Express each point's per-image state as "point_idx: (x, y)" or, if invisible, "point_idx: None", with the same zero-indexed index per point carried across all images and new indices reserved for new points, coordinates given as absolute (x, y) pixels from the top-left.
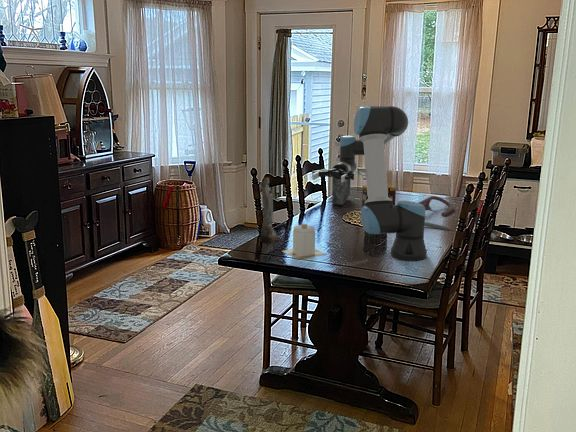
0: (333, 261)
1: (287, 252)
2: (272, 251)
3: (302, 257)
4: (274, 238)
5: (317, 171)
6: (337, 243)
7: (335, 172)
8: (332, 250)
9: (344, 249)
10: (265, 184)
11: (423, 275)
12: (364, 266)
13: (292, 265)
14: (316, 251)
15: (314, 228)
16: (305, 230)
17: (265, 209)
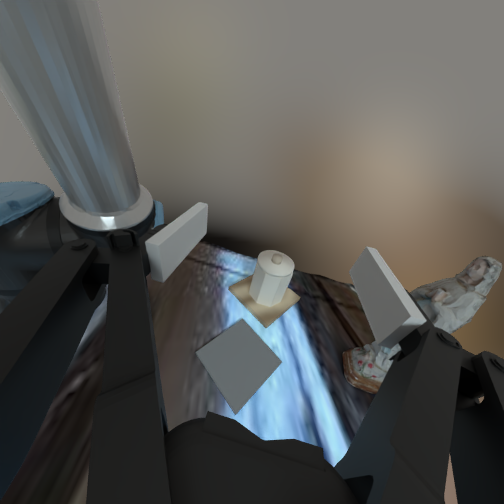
0: (218, 275)
1: (288, 291)
2: (315, 308)
3: None
4: (347, 359)
5: (460, 361)
6: (204, 363)
7: (262, 442)
8: (218, 320)
9: (192, 328)
10: (465, 269)
11: None
12: None
13: None
14: (246, 297)
15: (258, 259)
16: (269, 250)
17: None
